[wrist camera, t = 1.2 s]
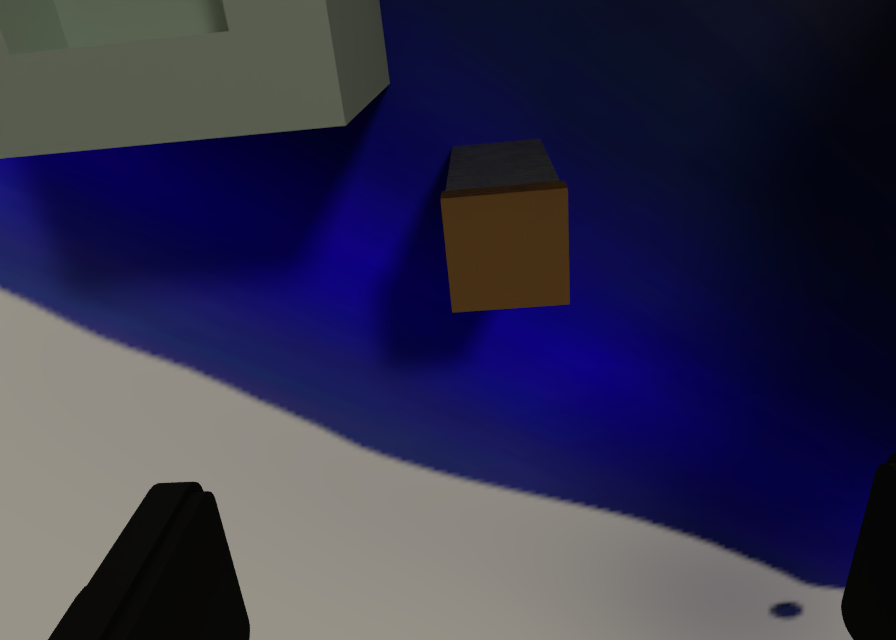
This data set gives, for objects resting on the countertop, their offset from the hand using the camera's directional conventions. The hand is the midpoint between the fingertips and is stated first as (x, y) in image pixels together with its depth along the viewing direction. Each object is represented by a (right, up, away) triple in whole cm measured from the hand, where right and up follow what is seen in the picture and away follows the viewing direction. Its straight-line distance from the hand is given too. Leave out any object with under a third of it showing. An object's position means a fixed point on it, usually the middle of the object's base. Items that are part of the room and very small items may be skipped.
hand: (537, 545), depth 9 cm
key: (+1, +10, +21) cm, 23 cm away
